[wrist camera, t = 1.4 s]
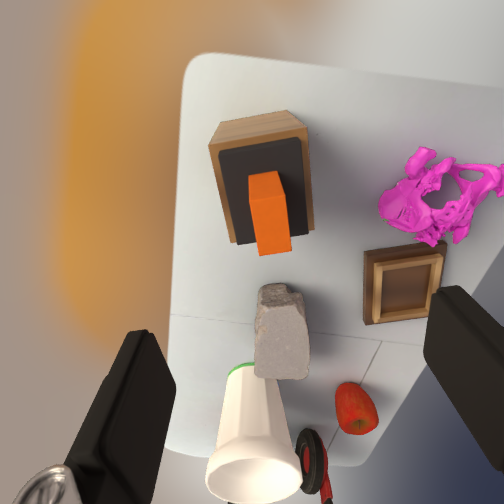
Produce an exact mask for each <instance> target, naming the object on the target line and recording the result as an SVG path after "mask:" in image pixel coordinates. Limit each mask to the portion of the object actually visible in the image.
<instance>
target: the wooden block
mask: <svg viewBox="0 0 504 504" xmlns="http://www.w3.org/2000/svg"><path fill="white" fill-rule="evenodd" d="M292 137H298V138H299V139H300V140H301V147H302V159H303V171H304V182H305V194H306V206H307V217H308V229H309V231H311V230H314V229H315V227H314V214H313V200H312V187H311V174H310V160H309V147H308V134H307V127H306V126H305V125H304V124H302V123H301V122H300V121H299V120H298V119H297V118H295V117H294V116H293V115H292V114H291V113H290V112H288V111H287V110H284V111H278V112H273V113H268V114H262V115H257V116H252V117H246V118H241V119H235V120H230V121H225V122H220V124H219V126H218V128H217V130H216V132H215V133H214V135H213V137H212V139H211V141H210V143H209V145H208V147H209V152H210V156H211V160H212V164H213V169H214V173H215V177H216V182H217V186H218V190H219V195H220V199H221V203H222V208H223V212H224V216H225V221H226V225H227V229H228V234H229V238H230V242H231V243H235V242H237V241H236V236H235V232H234V227H233V223H232V218H231V214H230V209H229V205H228V200H227V196H226V191H225V186H224V182H223V177H222V173H221V168H220V164H219V159H218V154H219V151H220V150H225V149H231V148H236V147H242V146H247V145H253V144H258V143H264V142H270V141H275V140H281V139H286V138H292Z"/></svg>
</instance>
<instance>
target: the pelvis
mask: <svg viewBox="0 0 504 504" xmlns="http://www.w3.org/2000/svg"><path fill="white" fill-rule="evenodd" d="M435 157H436V151H435V150H432V149H429V148H426V147H419V149H418V150H417V152H416V153H415V154H414V155H413V156H412V157H410V158H409V160H408V162H407V164H406V165H405V172H406V174H407V175H409V177H407V178H404V179H402V180H401V181H400V182H397V184H396V186H395V187H394V188H393V189H391V190H385V191H384V193H383V194H382V196H381V198H380V200H379V203H378V209H379V214H380V216H381V218H382V219H383V221H385V222H386V223H388V224H389V225H392V226H393V227H395V228H398V229H400V230H402V231H405V232H411V233H413V232H417V234H416V238H413V239H416V240H419V241H420V242H423V241H424V242H426V243H428V244H429V245H430V246H432V247H435V245H436V244H438V243H437V240H440V238H441V236H443V237H445V236H446V235H445V234H444V232H446V231H447V230H448V232H449V233H450V232H452V231H453V230H454V233H453V234H452V235H453V243H454V244H457V243H459V242H460V241H461V240H462V239H463V238H465V237H467V235H468V232H469V229H470V224H471V220H472V218H473V212H474V210H475V208H476V207H477V206H478V205H479V204H480V203H481V202H482V201H483V200H484V199H485V198H486V196H487V195H488V193H489V191H490V190H493V191H496V195H497V197H502V196H504V164H501V166H500V167H499V168H498V167H497V166H494V165H491V164H463V165H460V164H453V163H454V162H455V161H456V158H453V157H449V158H446V159H444V160H443V161H442V162H441V163H440V164H435V165H432V166H431V169H427V168H426V167H424V166H425V164H426V163H427V162H428V161H429V160H430V159H433V158H435ZM465 169H468V170H475V171H480V172H483V173H484V176H483V177H482V178H481V179H480V180H476V181H474V182H471V181H468V180H465V179H462V178H461V177H459V171H463V170H465ZM445 172H447V173H449V174H450V175H451V176H452V177H453V178H454V179H455V180H456V182H457V183H458V185H459V187H460V189H461V192H462V195H460V198H461V199H460V200H458V201H448V202H447V203H446V204H445V206H444V208H442V209H433V208H430V207H429V206H428V205H427V204H426V203H425V202H424V201H423V200H422V197H421V196H424V195H426V194H427V193H429V192H431V191H434V190H440V187H441V178H442V176H443V174H444V173H445ZM452 206H454V207H455V208H451V207H452ZM405 208H406V211H405ZM401 210H402V213H401ZM404 212H405V214H404ZM400 213H401V215H400ZM447 213H450V214H447ZM403 214H404V215H403ZM399 215H400V217H399ZM398 217H399V218H398ZM393 218H394V219H393ZM395 218H398V219H395Z"/></svg>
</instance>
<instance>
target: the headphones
mask: <svg viewBox="0 0 504 504" xmlns="http://www.w3.org/2000/svg"><path fill="white" fill-rule="evenodd" d="M295 453H296V455H297V456H298V457H299V460H300V466H301V472H302V478H303V482H302V484H301V486H300V488H301V489H302V491H303V492H304V493H306V494H316V493H317V492H318V491H319V489H320V495H321V503H322V504H333V502H332V498H333V496H332V490H331V485H330V480H329V477H328V472H327V470H328V457H327V452H326V449H325V447H324V445H323V442H322V440H321V438H320V437H319V435H318V433H317V432H316V431H315V430H312V429H304V430H303V431H302V432H301V433H300V434H299V436H298V439H297V443H296V449H295ZM228 504H235V503H231V502H228Z"/></svg>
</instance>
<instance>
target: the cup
mask: <svg viewBox="0 0 504 504" xmlns="http://www.w3.org/2000/svg"><path fill="white" fill-rule="evenodd" d="M254 366H255V363H247V364H242V365H240V366H238V367H236V368H234V369H233V370H232V371H231V372H230V373H229V374H228V378H227V387H226V393H225V398H224V404H223V409H222V415H221V420H220V426H219V431H218V437H217V442H216V448H215V451H214V453H213V454H212V456H211V457H210V459H209V462H208V466H207V471H206V479H205V483H206V485H207V487H208V489H209V491H210V493H212V494H214V495H215V496H217V497H218V498H220V499H222V500H225V501H228V502H231V503H235V504H269V503H273V502H276V501H280V500H283V499H286V498H287V497H289V496H291V495H292V494H294V493H295V492H297V491H298V489H299V487H300V486H301V484H302V482H303V478H302V472H301V466H300V460H299V457H298V456H297V455H296V453H295V452H294V451H293V447H292V443H291V439H290V434H289V430H288V426H287V421H286V417H285V413H284V409H283V404H282V400H281V396H280V391H279V387H278V383H277V379H271V378H266V379H265V378H258V377H257V376H256V375H255V374H254Z"/></svg>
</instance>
